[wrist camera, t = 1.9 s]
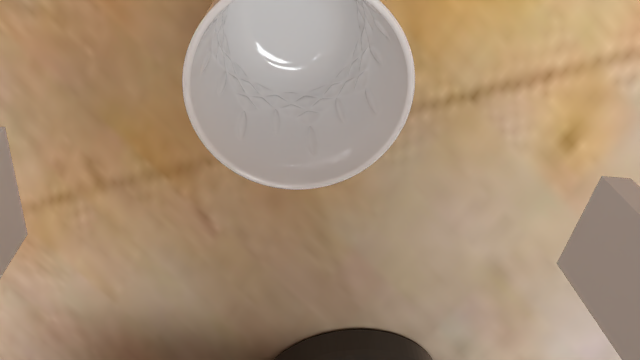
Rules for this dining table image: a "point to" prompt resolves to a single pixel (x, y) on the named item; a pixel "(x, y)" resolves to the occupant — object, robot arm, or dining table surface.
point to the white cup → (298, 88)
